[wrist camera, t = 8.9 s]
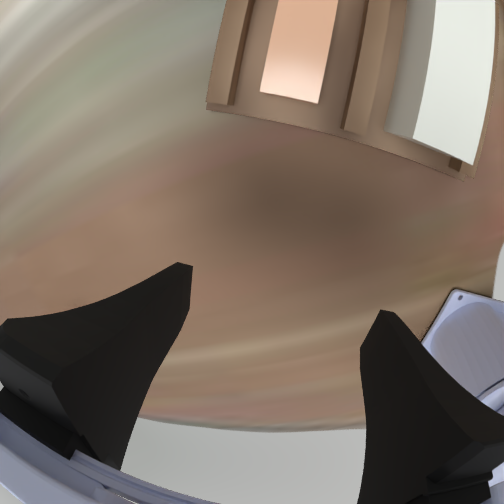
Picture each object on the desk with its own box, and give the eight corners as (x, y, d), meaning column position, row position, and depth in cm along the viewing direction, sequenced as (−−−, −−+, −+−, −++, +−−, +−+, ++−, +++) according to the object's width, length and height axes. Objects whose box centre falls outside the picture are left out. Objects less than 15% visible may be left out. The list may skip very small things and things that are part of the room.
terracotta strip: (343, -43, 10) (347, -58, 8) (315, 104, 15) (317, 103, 13) (295, -53, 10) (294, -68, 8) (264, 93, 15) (259, 91, 14)
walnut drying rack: (484, 9, 10) (502, 1, 7) (457, 178, 16) (475, 188, 14) (250, -64, 11) (243, -82, 8) (210, 109, 17) (197, 109, 15)
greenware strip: (456, -6, 9) (493, -28, 5) (432, 149, 15) (472, 165, 11) (409, -29, 10) (436, -60, 5) (383, 130, 15) (412, 138, 11)
